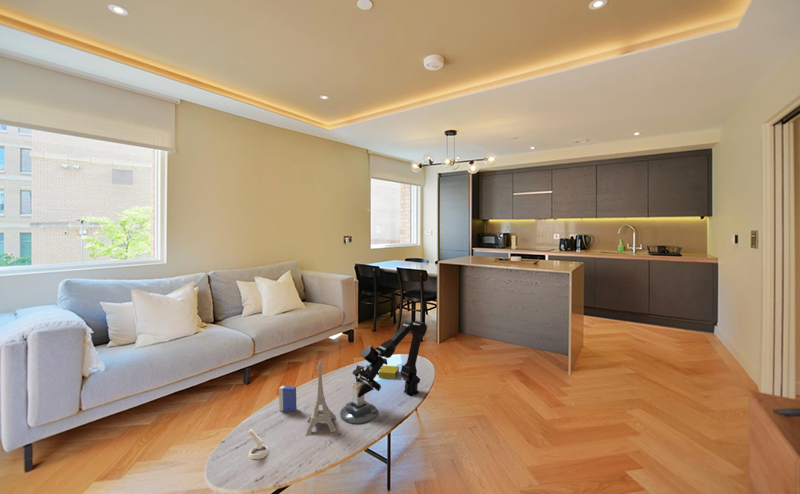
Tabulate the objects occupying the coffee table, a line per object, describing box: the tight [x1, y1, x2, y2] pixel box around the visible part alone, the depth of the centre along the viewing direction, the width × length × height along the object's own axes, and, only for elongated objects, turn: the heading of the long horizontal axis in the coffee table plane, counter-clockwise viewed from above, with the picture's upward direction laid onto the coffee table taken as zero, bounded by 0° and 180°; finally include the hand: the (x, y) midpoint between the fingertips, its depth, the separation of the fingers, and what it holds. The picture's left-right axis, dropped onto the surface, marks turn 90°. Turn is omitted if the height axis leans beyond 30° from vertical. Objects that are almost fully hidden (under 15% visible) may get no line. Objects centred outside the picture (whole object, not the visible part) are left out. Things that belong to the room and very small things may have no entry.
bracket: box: [378, 365, 400, 380], centre depth 210 cm, size 16×8×15 cm
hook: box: [247, 428, 270, 460], centre depth 136 cm, size 8×12×7 cm
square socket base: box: [339, 399, 378, 425], centre depth 165 cm, size 18×18×4 cm
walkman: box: [278, 385, 297, 413], centre depth 169 cm, size 8×3×12 cm, turn 81°
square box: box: [352, 381, 365, 409], centre depth 165 cm, size 4×4×12 cm
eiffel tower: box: [304, 361, 337, 436], centre depth 155 cm, size 13×13×30 cm
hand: (356, 395), depth 164 cm, fingers closed on square box, 4 cm apart
